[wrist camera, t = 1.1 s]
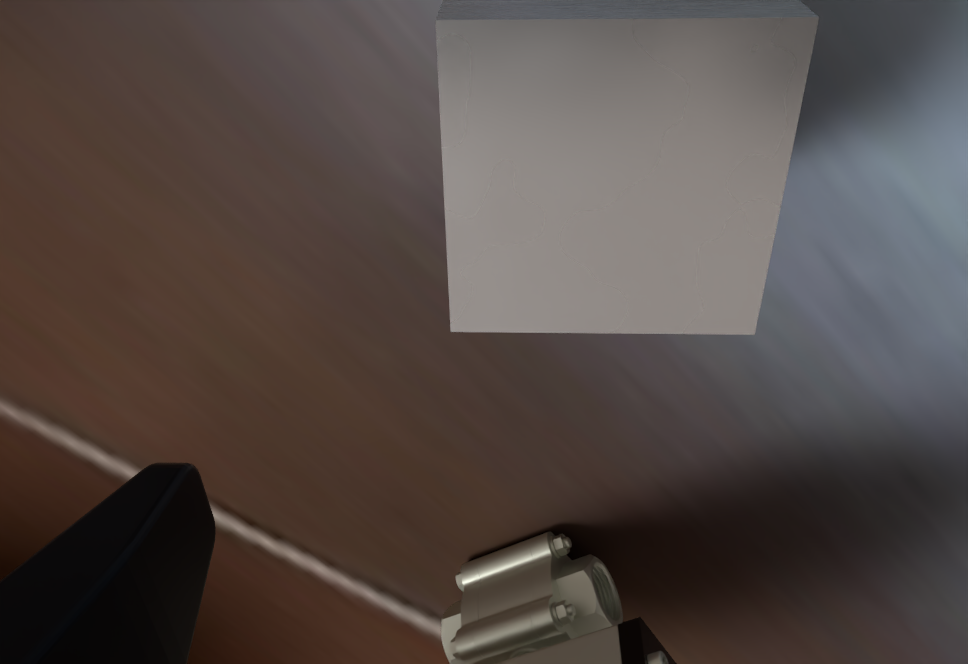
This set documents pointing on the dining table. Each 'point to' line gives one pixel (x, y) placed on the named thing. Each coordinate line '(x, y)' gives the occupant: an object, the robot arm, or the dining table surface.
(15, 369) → the dining table surface
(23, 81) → the dining table surface
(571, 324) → the plain white cube
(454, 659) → the pneumatic valve
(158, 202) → the dining table surface
